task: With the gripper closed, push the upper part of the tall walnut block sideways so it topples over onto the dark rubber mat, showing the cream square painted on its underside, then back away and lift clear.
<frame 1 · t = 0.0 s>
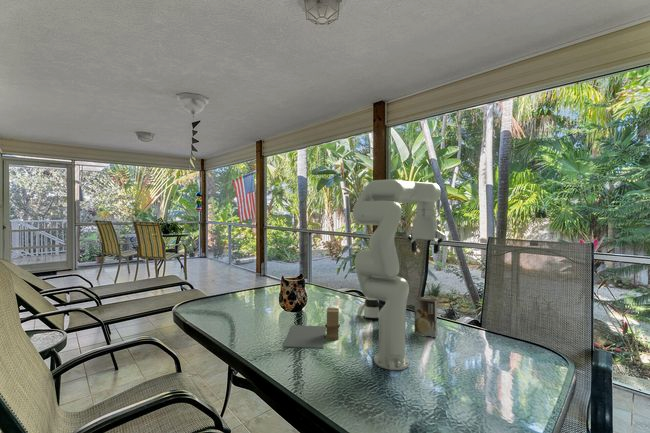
hand: (424, 252, 142), 37 cm above the table, tool pointing down, fingers open, 9 cm apart
storage jar: (388, 331, 148), on the table
mat: (306, 336, 140), on the table
spread jar: (368, 317, 167), on the table
block: (332, 337, 139), on the table
coffee box: (425, 334, 144), on the table
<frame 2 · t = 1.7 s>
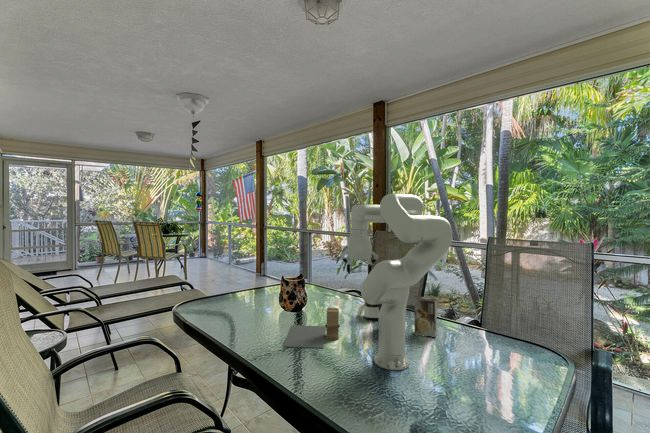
hand: (359, 273, 139), 28 cm above the table, tool pointing down, fingers open, 8 cm apart
nothing on the table moved.
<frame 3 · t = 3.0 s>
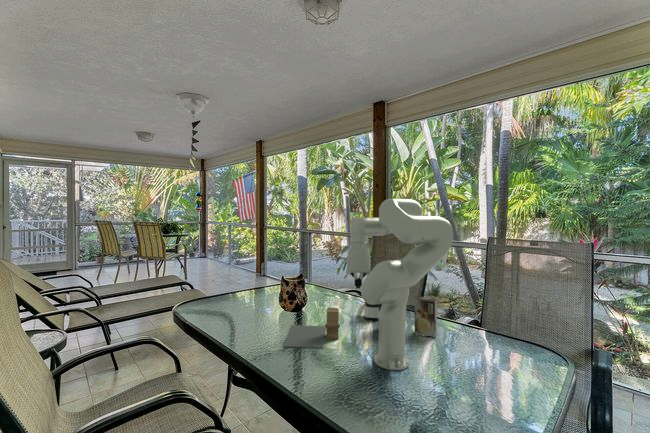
hand: (358, 287, 139), 22 cm above the table, tool pointing down, fingers closed
nothing on the table moved.
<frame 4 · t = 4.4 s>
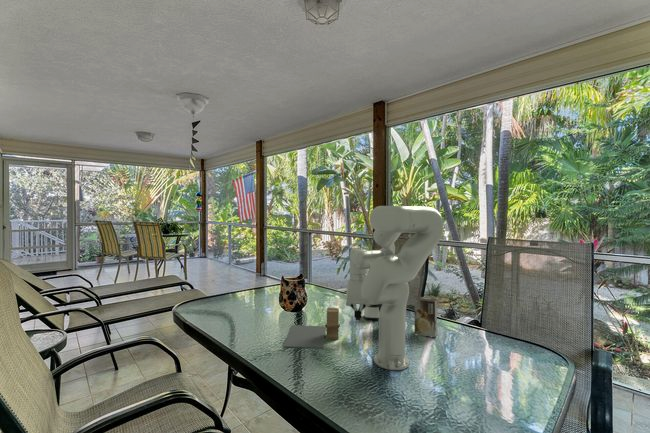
hand: (357, 319, 139), 8 cm above the table, tool pointing down, fingers closed
nothing on the table moved.
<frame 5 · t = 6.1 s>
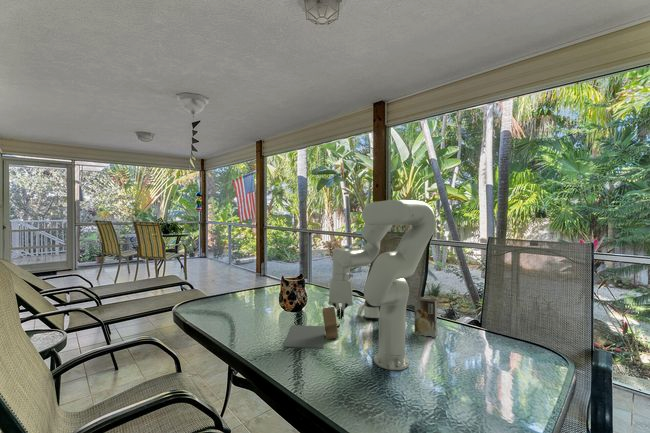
hand: (340, 318, 139), 8 cm above the table, tool pointing down, fingers closed
block: (332, 336, 139), on the table, tilted 9°
everything else where it was.
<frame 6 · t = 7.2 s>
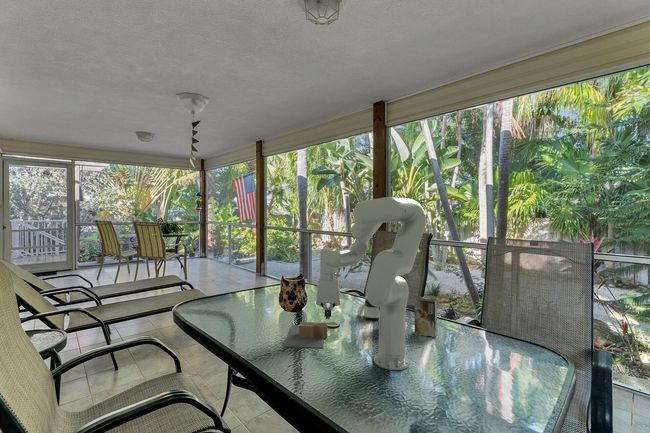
hand: (327, 318, 139), 8 cm above the table, tool pointing down, fingers closed
block: (327, 330, 139), point 3 cm above the table, tilted 90°, touching mat
everything else where it was.
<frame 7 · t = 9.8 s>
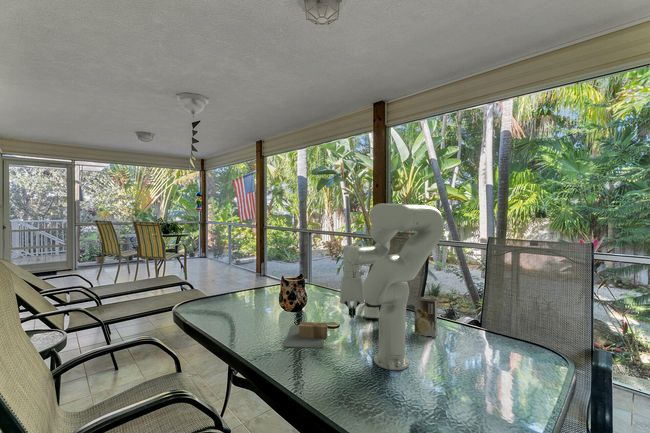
hand: (352, 316, 138), 9 cm above the table, tool pointing down, fingers closed
nothing on the table moved.
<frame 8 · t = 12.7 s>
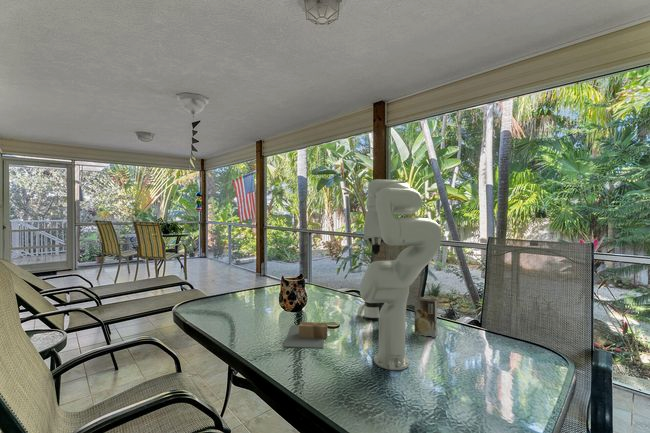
hand: (375, 253, 136), 37 cm above the table, tool pointing down, fingers closed
nothing on the table moved.
at the end: block tilted 90°; block inside the target area (4.6 cm from its centre), point 2.9 cm above the table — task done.
